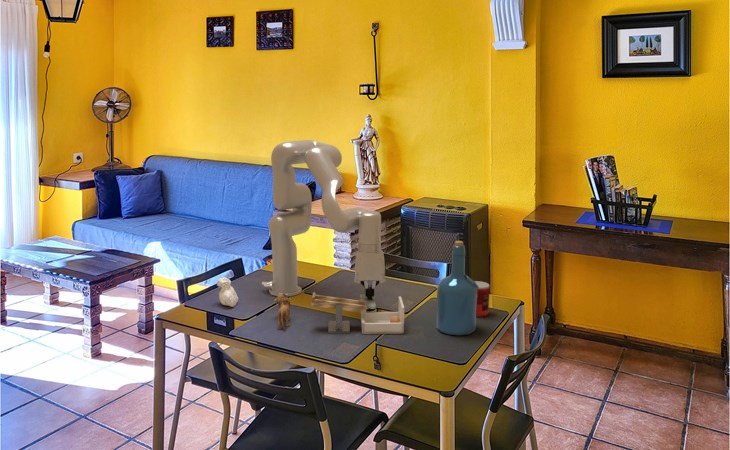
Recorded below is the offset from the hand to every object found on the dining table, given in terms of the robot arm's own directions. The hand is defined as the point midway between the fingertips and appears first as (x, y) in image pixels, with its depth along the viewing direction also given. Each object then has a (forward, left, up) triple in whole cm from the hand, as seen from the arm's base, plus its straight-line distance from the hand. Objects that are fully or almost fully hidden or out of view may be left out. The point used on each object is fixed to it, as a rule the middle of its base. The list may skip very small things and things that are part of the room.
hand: (369, 298), depth 208 cm
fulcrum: (-11, -10, -7) cm, 16 cm away
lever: (-9, -4, 0) cm, 10 cm away
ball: (+8, -10, -4) cm, 13 cm away
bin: (+4, -10, -7) cm, 13 cm away
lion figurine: (-30, -5, -7) cm, 31 cm away
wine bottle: (+28, -12, -7) cm, 31 cm away
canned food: (+38, +2, -7) cm, 39 cm away
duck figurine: (-52, +15, -7) cm, 54 cm away
